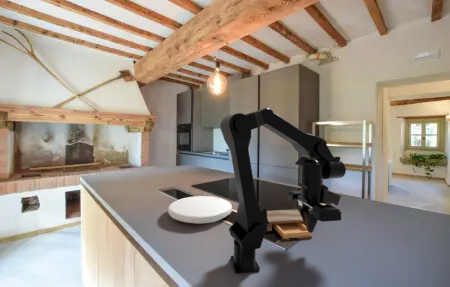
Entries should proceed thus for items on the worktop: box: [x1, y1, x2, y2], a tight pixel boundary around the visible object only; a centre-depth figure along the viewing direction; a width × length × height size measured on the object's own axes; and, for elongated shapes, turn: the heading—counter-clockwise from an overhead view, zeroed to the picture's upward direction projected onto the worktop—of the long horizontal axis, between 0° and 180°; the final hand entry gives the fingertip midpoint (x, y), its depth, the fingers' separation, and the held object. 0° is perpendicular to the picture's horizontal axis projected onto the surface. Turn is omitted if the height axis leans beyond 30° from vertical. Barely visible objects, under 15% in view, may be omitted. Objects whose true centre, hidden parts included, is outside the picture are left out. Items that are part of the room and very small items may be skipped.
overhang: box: [267, 208, 305, 232], centre depth 79 cm, size 10×20×3 cm, turn 99°
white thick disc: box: [167, 195, 233, 225], centre depth 88 cm, size 28×6×27 cm
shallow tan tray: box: [272, 222, 313, 240], centre depth 75 cm, size 14×10×2 cm
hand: (310, 232), depth 61 cm, fingers closed
